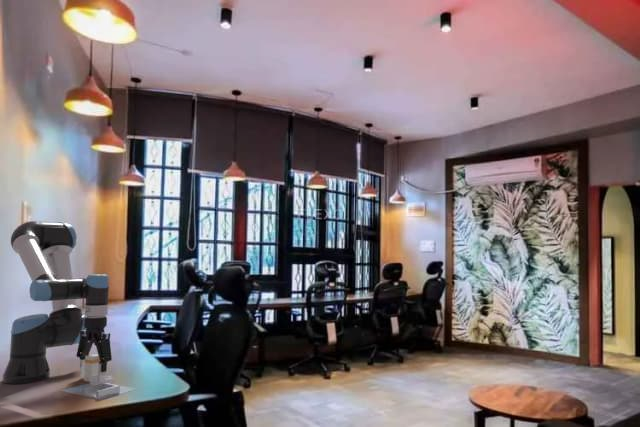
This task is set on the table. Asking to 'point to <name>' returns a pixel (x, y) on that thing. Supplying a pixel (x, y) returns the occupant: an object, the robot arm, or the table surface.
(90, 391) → the end holder
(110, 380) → the clip
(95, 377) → the clip
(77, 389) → the board
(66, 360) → the table surface
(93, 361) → the white bottle
